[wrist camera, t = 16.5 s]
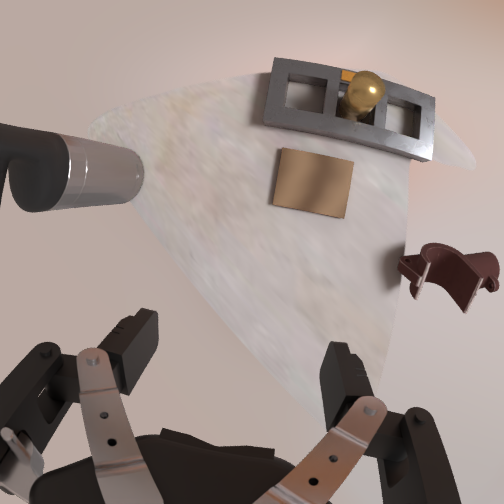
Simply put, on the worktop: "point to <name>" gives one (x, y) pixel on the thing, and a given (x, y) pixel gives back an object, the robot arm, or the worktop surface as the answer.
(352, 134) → the grey flat frame
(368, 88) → the gold domed cylinder
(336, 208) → the tan rectangular plate
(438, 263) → the bracket
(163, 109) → the worktop surface
